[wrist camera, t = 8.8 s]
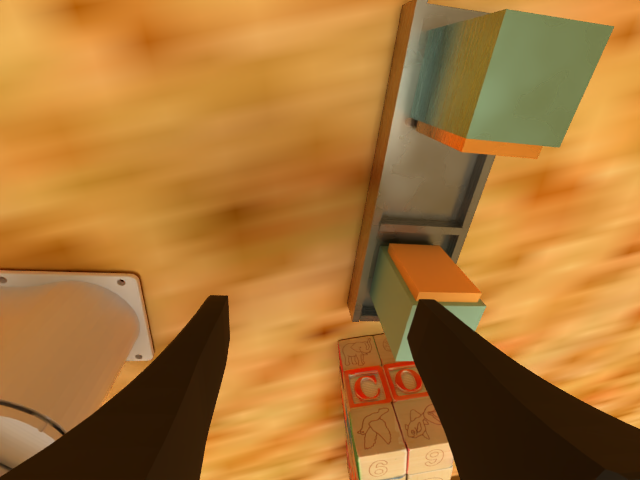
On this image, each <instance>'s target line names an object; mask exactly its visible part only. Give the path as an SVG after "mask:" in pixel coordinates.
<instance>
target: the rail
mask: <svg viewBox="0 0 640 480" xmlns="http://www.w3.org/2000/svg"><path fill="white" fill-rule="evenodd" d="M427 2H428V0H412V1H410V2H408V3H406V4H404V5H402V10H401V16H400V21H399V27H398V32H397V37H396V43H395V48H394V54H393V59H392V65H391V70H390V75H389V81H388V86H387V92H386V97H385V102H384V108H383V113H382V119H381V124H380V129H379V135H378V140H377V146H376V151H375V157H374V162H373V167H372V173H371V178H370V184H369V189H368V194H367V200H366V205H365V211H364V216H363V222H362V227H361V232H360V238H359V243H358V249H357V254H356V259H355V265H354V270H353V276H352V281H351V286H350V292H349V297H348V303H347V304H348V308H349V312H350V315H351V319H352V322H359V319H360V321H380V320H379V317H378V315H377V312H376V310H375V307H374V304H373V302H372V299H371V297H370V289H371V285H372V280H373V276H374V271H375V267H376V262H377V258H378V253H379V249H380V246H389V243H393V244H417V245H439V246H440V247H441V248H442V249H443V250H444V251H445V252H446V254H447V255H448V256H449V257H450V258H451V259H452V260H453V261H454V263H455V264H456V263H457V260H458V257H459V255H460V252H461V249H462V246H463V244H464V241H465V238H466V235H467V233H468V230H469V227H470V224H471V222H472V219H473V216H474V213H475V211H476V208H477V205H478V202H479V200H480V197H481V194H482V191H483V189H484V186H485V183H486V181H487V178H488V175H489V172H490V170H491V167H492V164H493V161H494V159H495V156H496V155H499V156H511V157H522V158H533V159H537V158H538V156H539V154H540V151H541V149H542V146H549V147H560V145H561V143H562V141H563V138H564V136H565V134H566V132H567V130H568V127H569V125H570V123H571V121H572V119H573V116H574V114H575V112H576V110H577V108H578V105H579V103H580V101H581V99H582V97H583V94H584V92H585V90H586V88H587V86H588V83H589V81H590V79H591V77H592V75H593V72H594V70H595V68H596V66H597V63H598V61H599V59H600V57H601V55H602V52H603V50H604V48H605V46H606V44H607V41H608V39H609V37H610V35H611V33H612V30H613V28H614V26H608V25H601V24H595V23H589V22H583V21H577V20H570V19H564V18H558V17H552V16H546V15H539V14H533V13H527V12H521V11H514V10H508V9H505V10H502V11H498V12H494V13H485V12H479V11H472V10H466V9H460V8H453V7H447V6H441V5H434V4H428V3H427Z"/></svg>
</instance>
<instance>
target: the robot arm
mask: <svg viewBox="0 0 640 480" xmlns="http://www.w3.org/2000/svg"><path fill="white" fill-rule="evenodd" d="M3 277H4V278H3ZM5 278H6V279H5ZM120 279H121V280H124V281H125V282H122V281H120ZM407 340H408V344H409V347H410V351H411V354H412V357H413V360H414V363H415V366H416V368H417V370H418V373H419V375H420V377H421V379H422V382H423V384H424V386H425V388H426V391H427V393H428V395H429V397H430V399H431V402H432V404H433V406H434V408H435V410H436V413H437V415H438V417H439V419H440V422H441V424H442V427H443V429H444V432H445V434H446V437H447V440H448V443H449V446H450V449H451V452H452V455H453V458H454V461H455V464H456V467H457V470H458V473H459V477H460V480H640V429H639V428H636V427H634V426H632V425H629V424H627V423H625V422H623V421H621V420H619V419H617V418H615V417H613V416H611V415H609V414H606V413H604V412H602V411H600V410H598V409H596V408H594V407H592V406H590V405H589V404H587V403H585V402H583V401H581V400H579V399H577V398H575V397H574V396H572V395H570V394H568V393H566V392H565V391H563V390H561V389H559V388H557V387H556V386H554V385H552V384H551V383H549V382H547V381H545V380H544V379H542V378H541V377H539V376H537V375H536V374H534V373H533V372H531V371H530V370H528V369H526V368H525V367H523V366H522V365H520V364H519V363H517V362H516V361H514V360H513V359H511V358H510V357H509V356H507V355H506V354H504V353H503V352H502V351H500V350H499V349H497V348H496V347H495V346H493V345H492V344H491V343H489V342H488V341H487V340H485V339H484V338H483V337H481V336H480V335H479V334H478V333H476V332H475V331H474V330H472V329H471V328H470V327H469V326H467V325H466V324H465V323H464V322H462V321H461V320H460V319H459V318H458V317H456V316H455V315H454V314H453V313H451V312H450V311H449V310H448V309H446V308H445V307H444V306H442V305H441V304H440V303H438V302H437V301H436V300H434V299H419V301H418V304H417V307H416V311H415V314H414V317H413V320H412V323H411V326H410V329H409V333H408V336H407ZM229 341H230V329H229V305H228V296H217V295H210V296H209V297H208V298H207V299H206V300H205V302H204V303H203V305H202V306H201V307H200V309H199V310H198V311H197V313H196V314H195V315H194V316H193V318H192V319H191V320H190V321H189V323H188V324H187V325H186V326H185V327H184V328H183V330H182V331H181V332H180V333H179V334H178V335H177V337H176V338H175V339H174V340H173V341H172V342H171V343H170V344H169V345H168V346H167V347H166V348H165V350H164V351H163V352H162V353H161V354H160V355H159V356H158V357H157V358H156V359H155V360H154V361H153V362H152V363H151V364H150V365H149V366H148V367H147V368H146V369H145V370H144V371H143V372H142V373H140V374H139V375H138V376H137V377H136V378H135V379H134V380H133V381H132V382H131V383H129V384H128V385H127V386H126V387H125V388H124V389H122V390H121V391H120V392H119V393H118V394H116V395H115V396H114V397H113V398H112V399H110V400H109V401H108V402H107V403H106V404H104V405H103V406H102V407H101V405H102V403H103V401H104V400H105V398H106V396H107V394H108V392H109V390H110V388H111V387H112V385H113V383H114V381H115V379H116V377H117V376H118V374H119V372H120V370H121V368H122V366H123V364H124V363H125V361H148V360H151V359H152V358H153V356H154V350H153V345H152V340H151V335H150V330H149V325H148V320H147V315H146V310H145V305H144V300H143V295H142V290H141V285H140V280H139V278H138V277H137V276H136V275H134V274H126V273H88V272H49V271H10V270H0V480H200V474H201V468H202V462H203V456H204V451H205V445H206V440H207V436H208V431H209V427H210V423H211V419H212V416H213V412H214V408H215V404H216V401H217V397H218V393H219V389H220V386H221V382H222V378H223V374H224V370H225V366H226V361H227V354H228V348H229ZM139 354H140V355H139ZM100 407H101V408H100Z"/></svg>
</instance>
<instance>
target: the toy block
mask: <svg viewBox="0 0 640 480" xmlns="http://www.w3.org/2000/svg"><path fill="white" fill-rule="evenodd" d="M481 294H482V293H481V292H480V291H479V290H478V289H477V287H476V286H475V285H474V284H473V283H472V282H471V281H470V280H469V278H468V277H467V276H466V275H465V274H464V273H463V272H462V271H461V269H460V268H459V267H458V266H457V265H456V264H455V263H454V261H453V260H452V259H451V258H450V257H449V256H448V255H447V254H446V252H445V251H444V250H443V249H442V248H441V247H440V246H439V245H417V244H393V243H389V246H380V249H379V253H378V258H377V262H376V267H375V271H374V276H373V280H372V285H371V289H370V297H371V299H372V302H373V304H374V307H375V310H376V312H377V315H378V317H379V320H380V323H381V325H382V328H383V330H384V333H385V336H386V338H387V341H388V343H389V346H390V349H391V351H392V354H393V356H394V359H395V361H414V360H413V357H412V354H411V351H410V347H409V344H408V340H407V336H408V333H409V329H410V326H411V323H412V320H413V317H414V314H415V311H416V307H417V304H418V301H419V299H434V300H436V301H437V302H438V303H440V304H441V305H442V306H444V307H445V308H446V309H448V310H449V311H450V312H451V313H453V314H454V315H455V316H456V317H458V318H459V319H460V320H461V321H462V322H464V323H465V324H466V325H467V326H469V327H470V328H471V329H472V330H474V331H475V330H476V328H477V326H478V323H479V321H480V319H481V317H482V315H483V312H484V310H485V308H486V305H485V304H484V303H483V302H482V301H481V300H480V296H481Z"/></svg>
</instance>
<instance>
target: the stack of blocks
mask: <svg viewBox="0 0 640 480" xmlns="http://www.w3.org/2000/svg"><path fill="white" fill-rule="evenodd" d="M338 349H339V359H340V367H339V369H340V380H341V393H342V405H343V410H344V419H345V429H346V448H347V465H348V473H349V479H350V480H450V478H451V474H452V469H453V465H452V463H453V459H454V458H453V455H452V452H451V449H450V446H449V443H448V440H447V437H446V434H445V432H444V429H443V427H442V424H441V422H440V419H439V417H438V415H437V413H436V410H435V408H434V406H433V404H432V402H431V399H430V397H429V395H428V393H427V391H426V388H425V386H424V384H423V382H422V379H421V377H420V375H419V373H418V370H417V368H416V366H415V363H414V361H395V359H394V356H393V354H392V351H391V349H390V346H389V343H388V341H387V338H386V336H385V334H381V335H375V336H366V337H359V338H352V339H346V340H341V341H338Z"/></svg>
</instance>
